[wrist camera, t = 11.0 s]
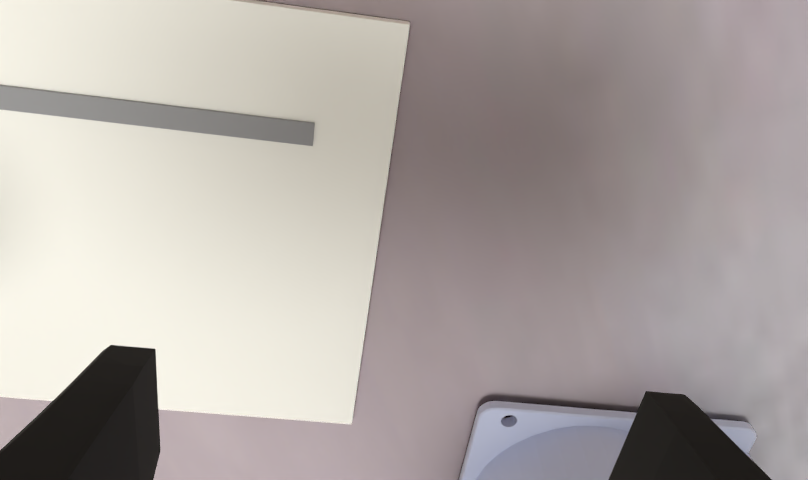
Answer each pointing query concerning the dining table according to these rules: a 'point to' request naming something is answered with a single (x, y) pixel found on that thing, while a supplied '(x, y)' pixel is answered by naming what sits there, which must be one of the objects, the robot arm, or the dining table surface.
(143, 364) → the robot arm
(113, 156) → the paper
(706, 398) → the dining table surface
